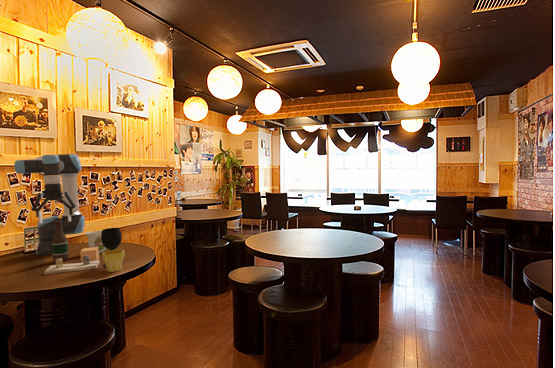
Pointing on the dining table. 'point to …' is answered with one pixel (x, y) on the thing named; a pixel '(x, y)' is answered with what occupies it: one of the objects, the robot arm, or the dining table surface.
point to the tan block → (90, 253)
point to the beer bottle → (59, 243)
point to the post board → (72, 266)
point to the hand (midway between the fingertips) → (55, 222)
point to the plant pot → (113, 260)
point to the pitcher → (95, 240)
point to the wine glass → (111, 238)
